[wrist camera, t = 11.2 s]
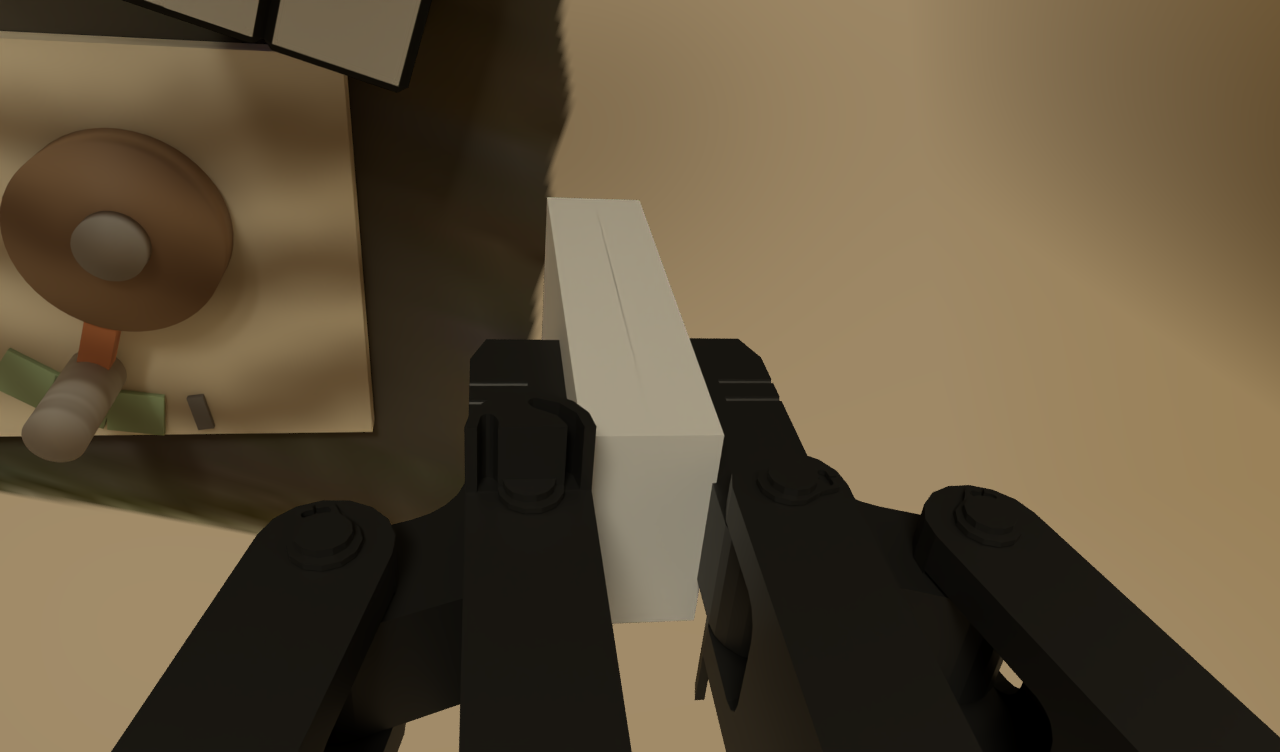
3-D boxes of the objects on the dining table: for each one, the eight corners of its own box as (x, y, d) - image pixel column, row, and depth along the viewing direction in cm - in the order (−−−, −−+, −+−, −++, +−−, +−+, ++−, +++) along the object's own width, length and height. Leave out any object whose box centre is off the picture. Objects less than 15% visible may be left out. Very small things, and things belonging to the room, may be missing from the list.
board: (-216, 20, 39) (-240, 28, 37) (345, 48, 42) (340, 56, 41) (-65, 423, 49) (-79, 440, 48) (374, 419, 53) (371, 435, 51)
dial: (31, 96, 40) (-36, 144, 35) (253, 170, 43) (221, 225, 38) (-3, 360, 46) (-65, 435, 41) (192, 410, 49) (158, 485, 44)
